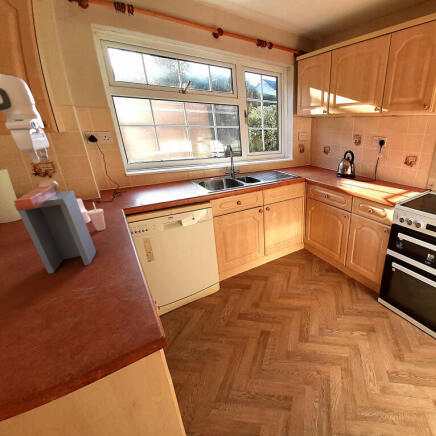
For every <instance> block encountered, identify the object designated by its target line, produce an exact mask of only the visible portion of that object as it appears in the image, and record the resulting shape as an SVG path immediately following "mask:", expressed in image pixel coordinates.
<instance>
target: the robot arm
mask: <svg viewBox="0 0 436 436" xmlns="http://www.w3.org/2000/svg"><path fill="white" fill-rule="evenodd" d="M1 112H2V113H4V114H5V117H6V121H5V123H4V125H5V127H6V129H7V130H10V134H11V136H12V138H13V141H14V142H15V144H16V147H17V148H18V149H19V150H20V151H21V152H27V155H28V156H29V157H30V158H31V160H32V163H34V164H40V163H41V161H47V160H49V155H48V150H47V149H48V148H50V143H49V140H48V138H47V135H46V133H45V131H44V130H43V129H45V125H44V123H43V120H42V117H41V115H40V113H39V112H38V110H37V108H36V102H35V98H34V96H33V94H32V92H31V90H30V88H29V86H28V83H27V82H25V81H24V80H23V78H20V77H19V76H16V75H14V74H13V75H12V74H8V73H3V72H0V113H1ZM38 152H39V154H40V156H39V155H38Z"/></svg>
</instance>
